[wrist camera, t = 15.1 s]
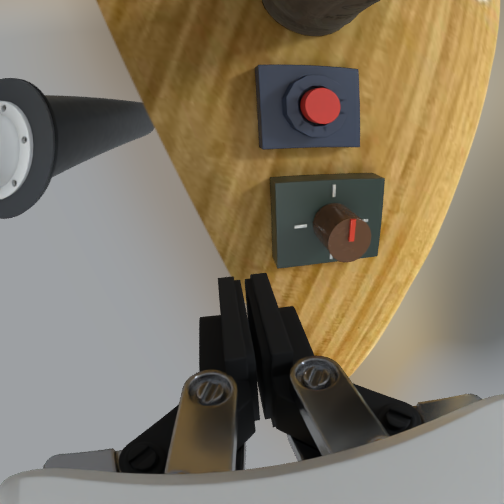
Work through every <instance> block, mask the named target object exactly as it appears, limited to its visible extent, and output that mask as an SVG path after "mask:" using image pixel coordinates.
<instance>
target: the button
mask: <svg viewBox="0 0 504 504" xmlns="http://www.w3.org/2000/svg"><path fill="white" fill-rule="evenodd" d="M300 108H301V112H302V114H303V115H304V117H305V118H306V119H307V120H309V121H311V122H313V123H319V124H328V123H331V122H333V121H334V120H335V119H336V118H337V117H338V115H339V112H340V101H339V99H338V97H337V95H336V94H335V93H334V92H332V91H331V90H329V89H326V88H316V89H311V90H309V91H307V92H306V93H305V94H304V95H303V97H302V99H301V102H300Z"/></svg>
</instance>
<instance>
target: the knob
mask: <svg viewBox="0 0 504 504" xmlns="http://www.w3.org/2000/svg"><path fill="white" fill-rule="evenodd" d="M313 230H314V233H315V235H316V236H317V238H318V239H319V240H320V241H321V243H322V244H323V245H324V247H325V248H326V249H327V250H328V252H329V253H330V254H331V255H332V257H333V258H335V259H336V260H338V261H340V262H351V261H354V260H357V259H358V258H360V257H361V256H362V255H363V254H364V253H365V252H366V251H367V249H368V247H369V245H370V242H371V230H370V228H369V226H368V224H367V223H366V222H365V221H363V220H362V219H361V218H360V217H358V216H357V215H356V214H355V213H353V212H352V211H351V210H349V209H348V208H347V207H346V206H344V205H342V204H339V203H331V204H327V205H325V206H324V207H322V208H321V209H320V210H319V211H318V212H317V214H316V215H315V218H314V221H313Z"/></svg>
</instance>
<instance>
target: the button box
mask: <svg viewBox="0 0 504 504" xmlns="http://www.w3.org/2000/svg"><path fill="white" fill-rule="evenodd" d="M255 78H256V95H257V112H258V130H259V147H260V148H262V149H281V148H306V147H360V100H359V74H358V69H352V68H341V67H328V66H311V65H258V66H257V67H255ZM316 88H326V89H329V90H331V91H332V92H334V93H335V94H336V95H337V97H338V99H339V101H340V112H339V115H338V117H337V118H336V119H335V120H334V121H333V122H331V123H328V124H319V123H313V122H311V121H309V120H307V119H306V118H305V117H304V115H303V114H302V112H301V108H300V102H301V99H302V97H303V95H304V94H305V93H306V92H307V91H309V90H311V89H316Z"/></svg>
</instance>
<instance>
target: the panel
mask: <svg viewBox="0 0 504 504" xmlns="http://www.w3.org/2000/svg"><path fill="white" fill-rule="evenodd" d="M384 181H385V178H383V177H380V176H378V175H376V174H374V173H347V174H320V175H300V176H283V177H270V194H271V221H272V251H273V259H274V261H275V264H276V266H277V268H286V267H294V266H303V265H311V264H319V263H327V262H335V261H338V260H336V259H335V258H333V257H332V255H331V254H330V253H329V252H328V250H327V249H326V248H325V247H324V245H323V244H322V243H321V241H320V240H319V239H318V238H317V236H316V235H315V233H314V230H313V221H314V218H315V215H316V214H317V212H318V211H319V210H320V209H321V208H322V207H324V206H325V205H327V204H331V203H339V204H342V205H344V206H346V207H347V208H348V209H349V210H351V211H352V212H353V213H355V214H356V215H357V216H358V217H360V218H361V219H362V220H363V221H365V222H366V223H367V224H368V226H369V228H370V230H371V242H370V245H369V247H368V249H367V251H366V252H365V253H364V254H363V255H362V256H361V257H360V258H366V257H374V256H377V254H378V246H379V238H380V229H381V219H382V208H383V196H384ZM358 259H359V258H358Z"/></svg>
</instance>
